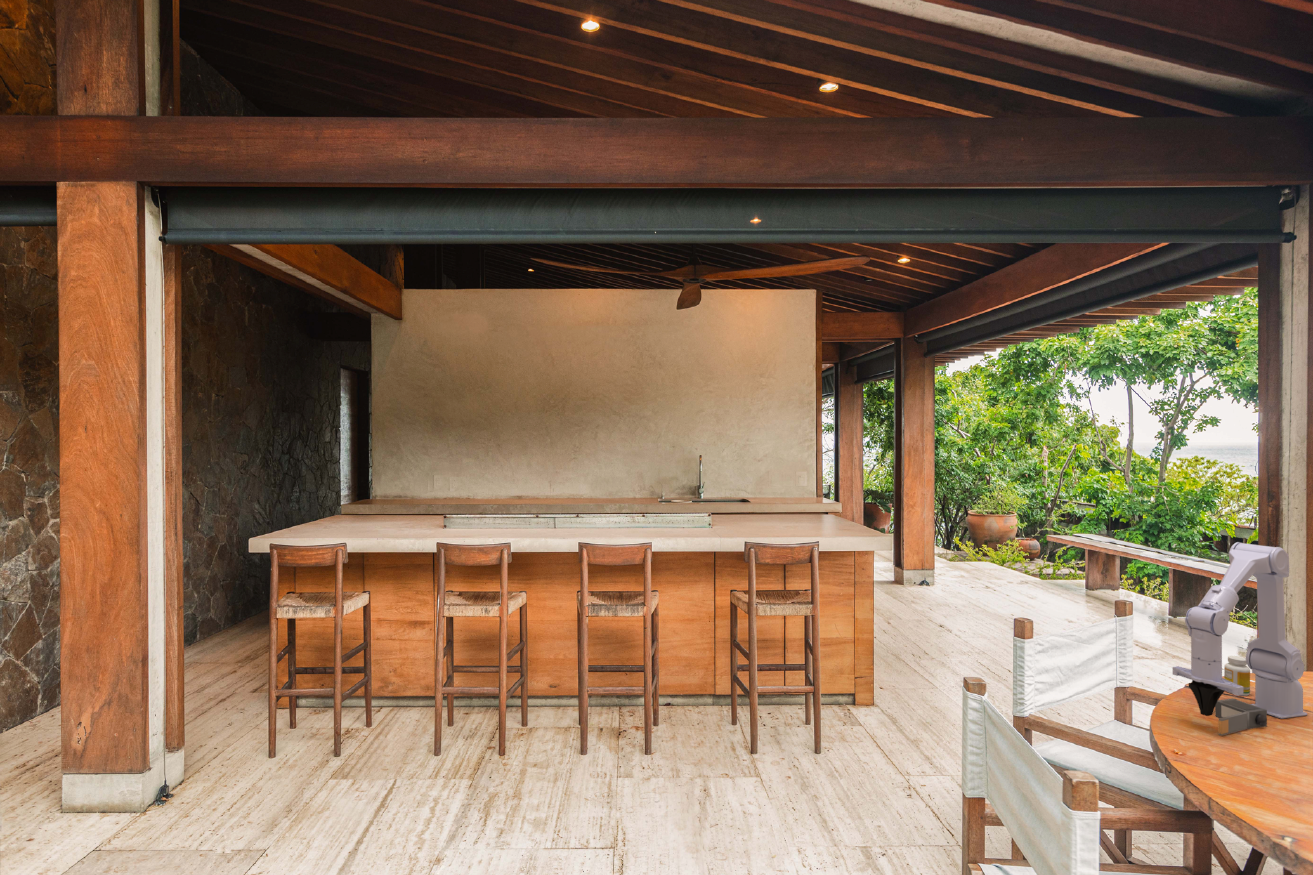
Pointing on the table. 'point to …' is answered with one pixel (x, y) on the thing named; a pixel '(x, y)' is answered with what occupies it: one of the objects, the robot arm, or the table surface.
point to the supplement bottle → (1238, 673)
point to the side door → (1233, 723)
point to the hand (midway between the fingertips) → (1206, 714)
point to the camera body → (1241, 711)
